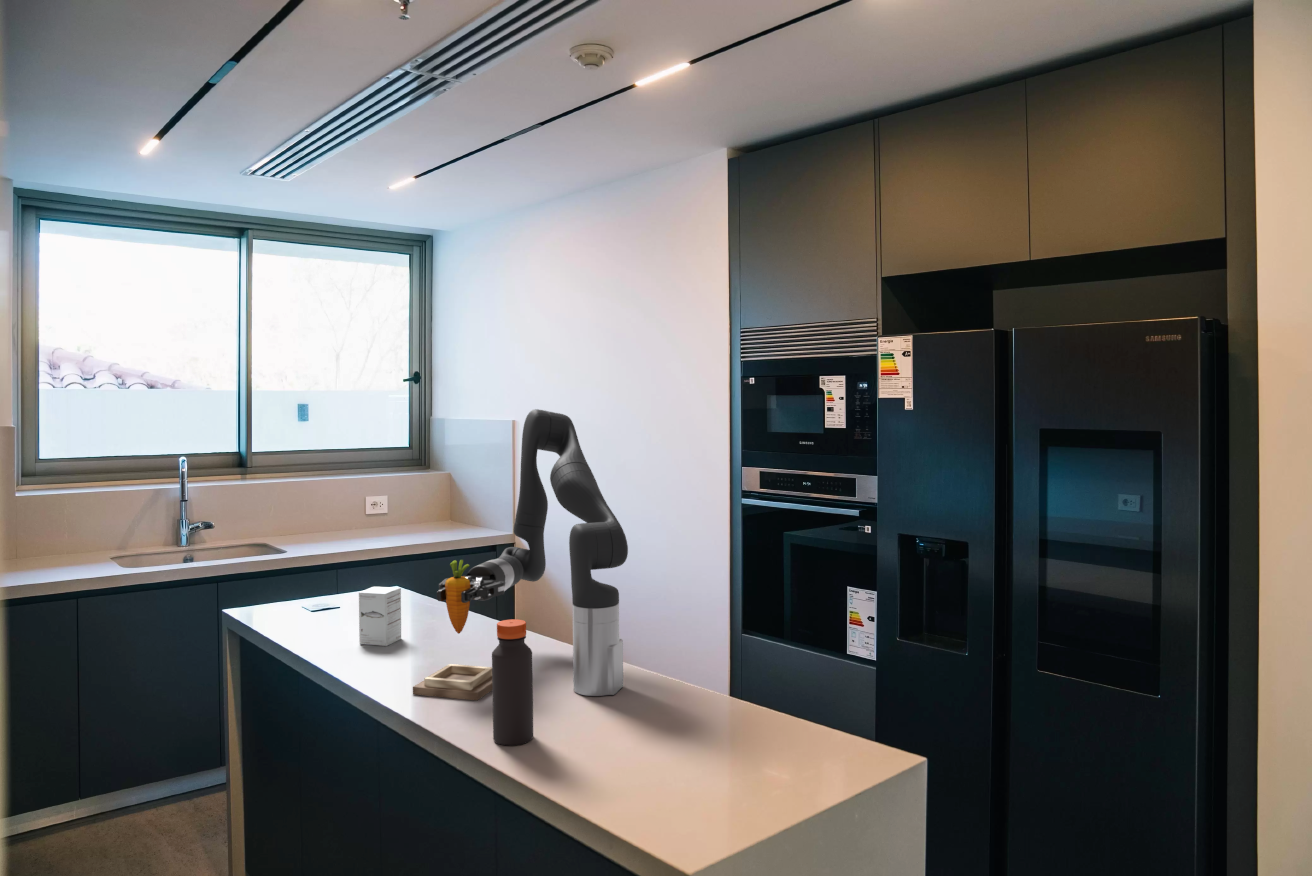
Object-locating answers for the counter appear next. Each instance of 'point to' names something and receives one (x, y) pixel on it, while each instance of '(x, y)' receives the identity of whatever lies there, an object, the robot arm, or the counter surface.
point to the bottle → (512, 685)
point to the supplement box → (380, 616)
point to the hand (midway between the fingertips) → (451, 596)
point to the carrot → (457, 596)
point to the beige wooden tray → (457, 682)
